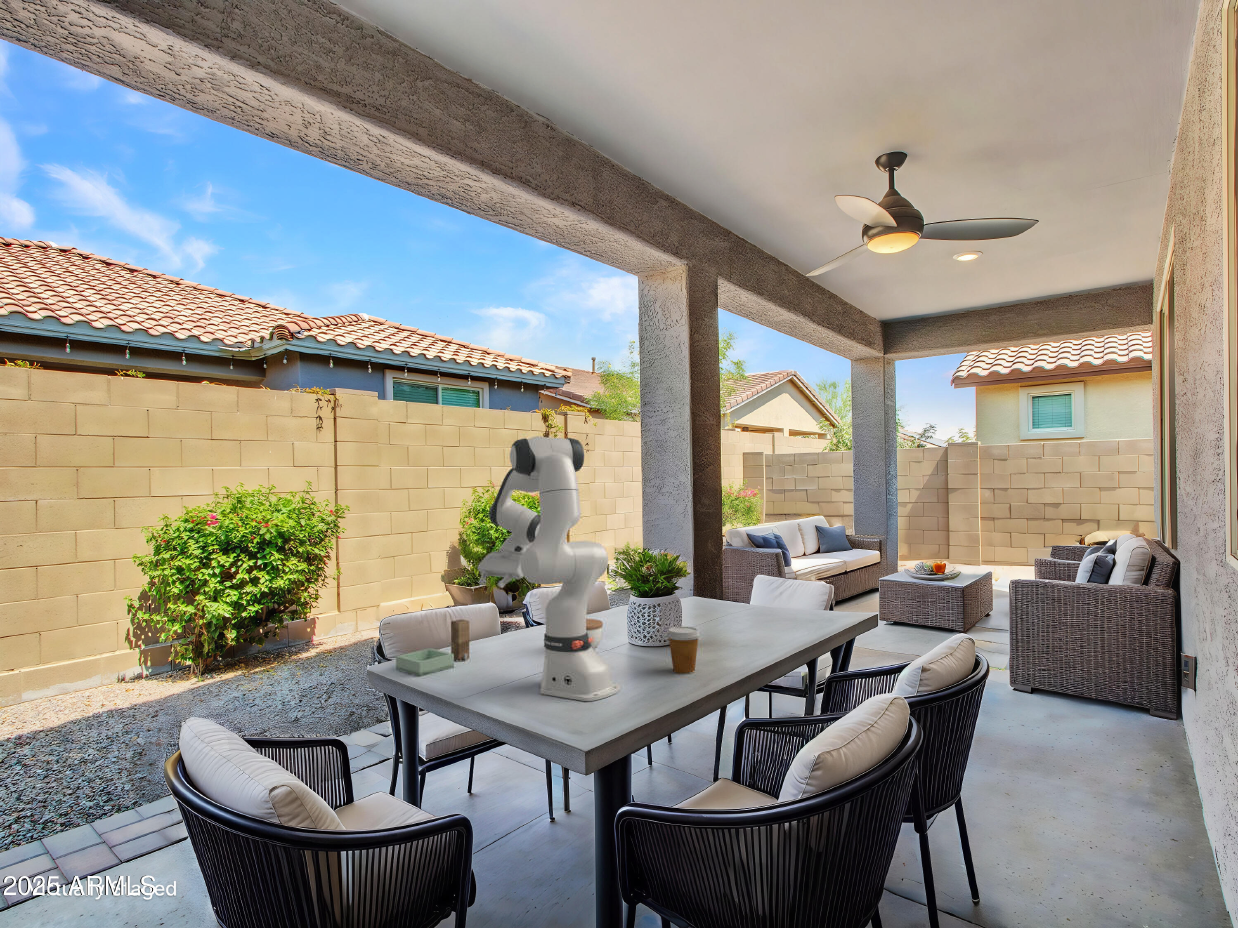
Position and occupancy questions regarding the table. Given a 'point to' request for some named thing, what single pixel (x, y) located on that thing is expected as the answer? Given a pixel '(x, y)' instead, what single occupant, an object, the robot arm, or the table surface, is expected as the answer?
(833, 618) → the table surface
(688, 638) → the disposable coffee cup
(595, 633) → the lidded bowl
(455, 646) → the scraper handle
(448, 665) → the tray
